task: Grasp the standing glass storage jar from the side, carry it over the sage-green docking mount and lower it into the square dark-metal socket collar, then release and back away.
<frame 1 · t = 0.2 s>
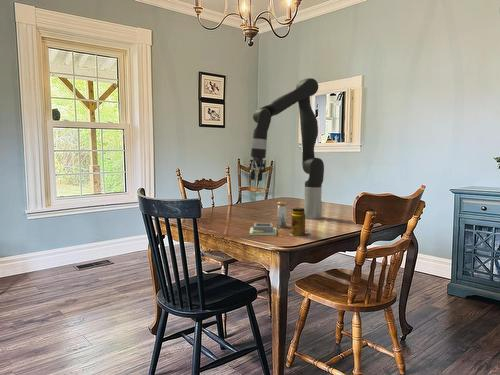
hand: (255, 180, 194), 22 cm above the table, tool pointing down, fingers open, 8 cm apart
condiment: (299, 235, 170), on the table
glass storage jar: (281, 226, 187), on the table
dock: (263, 232, 174), on the table
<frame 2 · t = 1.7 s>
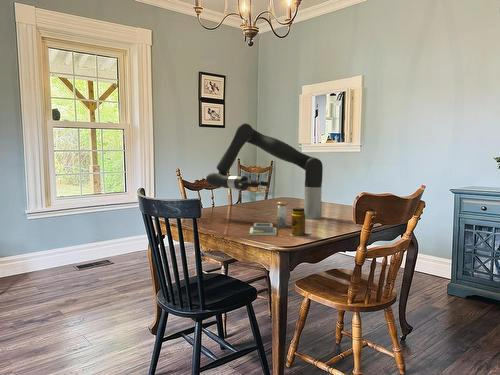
hand: (263, 184, 192), 20 cm above the table, tool horizontal, fingers open, 8 cm apart
nothing on the table moved.
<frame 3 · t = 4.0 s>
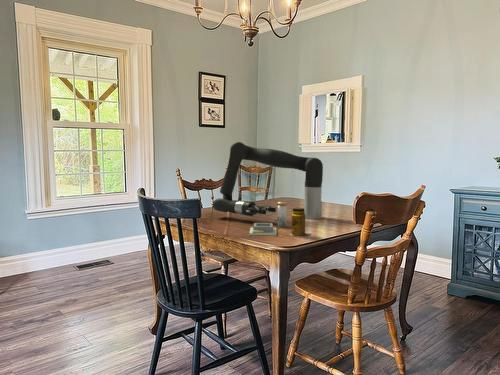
hand: (270, 211, 190), 7 cm above the table, tool horizontal, fingers open, 8 cm apart
nothing on the table moved.
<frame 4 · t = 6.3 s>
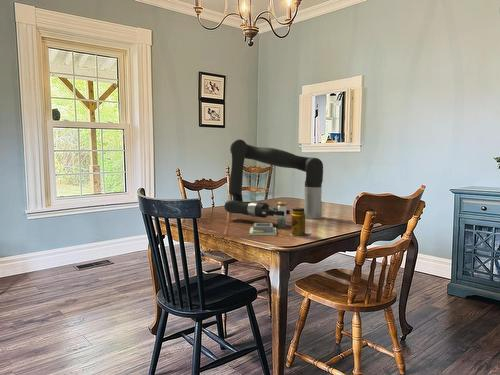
hand: (286, 213, 185), 7 cm above the table, tool horizontal, fingers closed on glass storage jar, 4 cm apart
glass storage jar: (281, 226, 187), on the table, touching gripper
everything else where it was.
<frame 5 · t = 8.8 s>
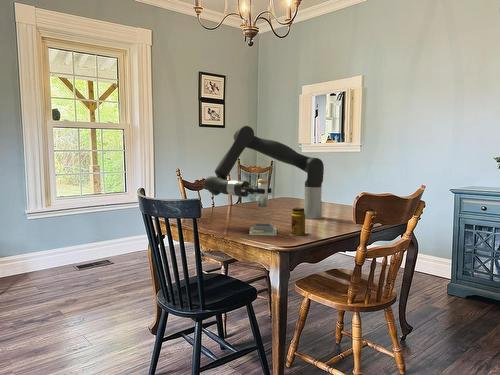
hand: (267, 191, 170), 19 cm above the table, tool horizontal, fingers closed on glass storage jar, 4 cm apart
glass storage jar: (262, 206, 173), point 12 cm above the table, touching gripper
everything else where it was.
when the fingers open (9 cm above the table, at t = 11.5 s): glass storage jar drops 1 cm, resting on dock.
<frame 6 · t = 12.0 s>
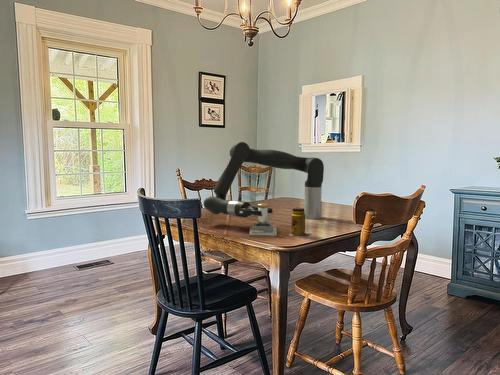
hand: (266, 212, 172), 10 cm above the table, tool horizontal, fingers open, 8 cm apart
glass storage jar: (262, 230, 174), point 1 cm above the table, touching dock
everything else where it was.
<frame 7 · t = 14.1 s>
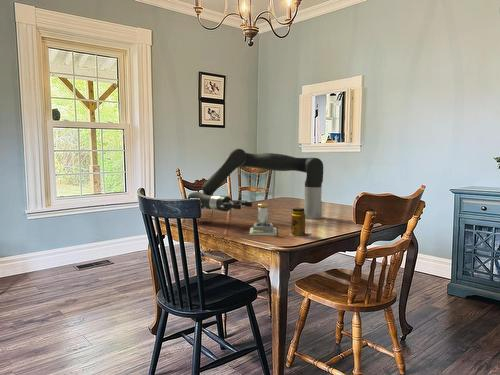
hand: (246, 205, 180), 11 cm above the table, tool horizontal, fingers open, 8 cm apart
nothing on the table moved.
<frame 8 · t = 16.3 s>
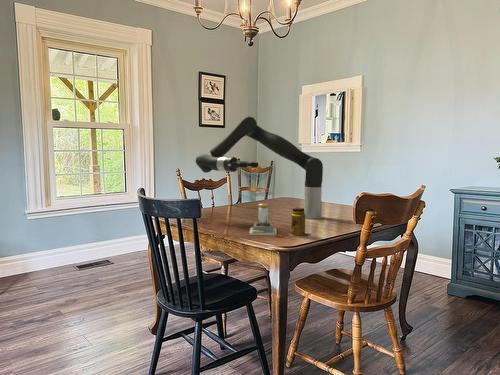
hand: (252, 165, 186), 30 cm above the table, tool horizontal, fingers open, 8 cm apart
nothing on the table moved.
at the end: glass storage jar 0.1 cm off-centre on the dock, point 1.0 cm above the dock's base; glass storage jar tilted 1°; the gripper is holding nothing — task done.
